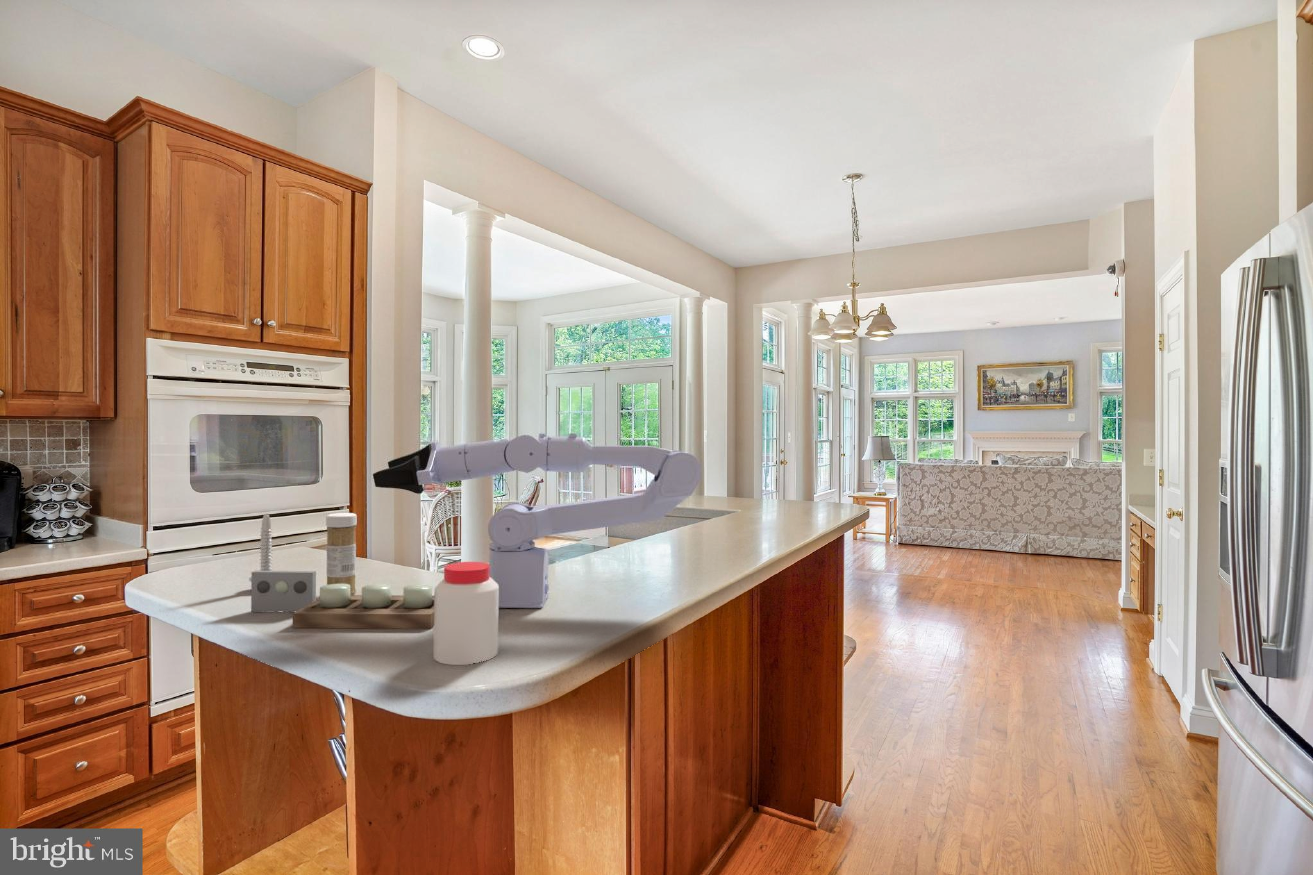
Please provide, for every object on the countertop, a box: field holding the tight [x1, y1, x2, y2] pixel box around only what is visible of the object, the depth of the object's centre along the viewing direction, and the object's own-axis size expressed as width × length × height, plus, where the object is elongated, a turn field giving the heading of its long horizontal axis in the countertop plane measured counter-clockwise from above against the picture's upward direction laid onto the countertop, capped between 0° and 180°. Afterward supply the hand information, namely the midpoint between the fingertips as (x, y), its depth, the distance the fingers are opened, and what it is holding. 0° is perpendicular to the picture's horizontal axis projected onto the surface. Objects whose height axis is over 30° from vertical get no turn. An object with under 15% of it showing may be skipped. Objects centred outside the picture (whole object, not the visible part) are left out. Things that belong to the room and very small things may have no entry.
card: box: [250, 570, 317, 613], centre depth 97 cm, size 9×1×6 cm, turn 92°
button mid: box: [361, 583, 392, 608], centre depth 94 cm, size 4×4×2 cm
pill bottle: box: [432, 561, 500, 666], centre depth 80 cm, size 8×8×11 cm
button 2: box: [403, 583, 433, 608], centre depth 95 cm, size 4×4×2 cm
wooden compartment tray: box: [292, 594, 434, 630], centre depth 94 cm, size 19×10×2 cm, turn 92°
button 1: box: [319, 584, 350, 608], centre depth 94 cm, size 4×4×2 cm
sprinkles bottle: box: [325, 512, 358, 595], centre depth 107 cm, size 5×5×14 cm
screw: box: [248, 513, 273, 583], centre depth 109 cm, size 13×5×5 cm
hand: (382, 473), depth 102 cm, fingers open, 7 cm apart
